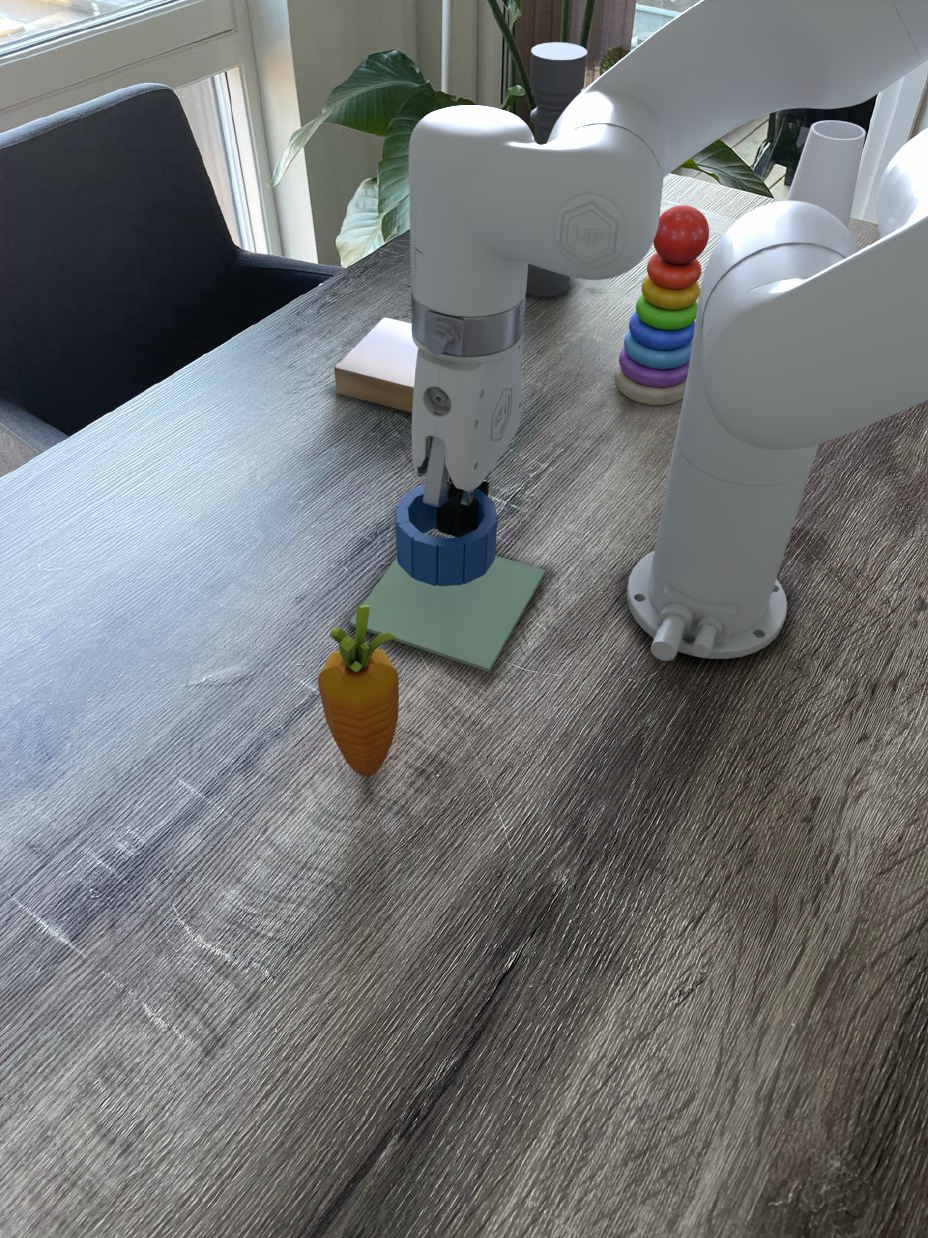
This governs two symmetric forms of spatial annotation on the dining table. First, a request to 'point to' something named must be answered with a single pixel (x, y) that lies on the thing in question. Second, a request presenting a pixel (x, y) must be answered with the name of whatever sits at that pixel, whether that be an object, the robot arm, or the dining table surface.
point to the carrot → (360, 697)
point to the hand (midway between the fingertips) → (462, 525)
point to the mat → (454, 611)
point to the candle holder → (552, 124)
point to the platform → (381, 366)
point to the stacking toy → (665, 312)
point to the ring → (443, 542)
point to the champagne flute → (829, 167)
